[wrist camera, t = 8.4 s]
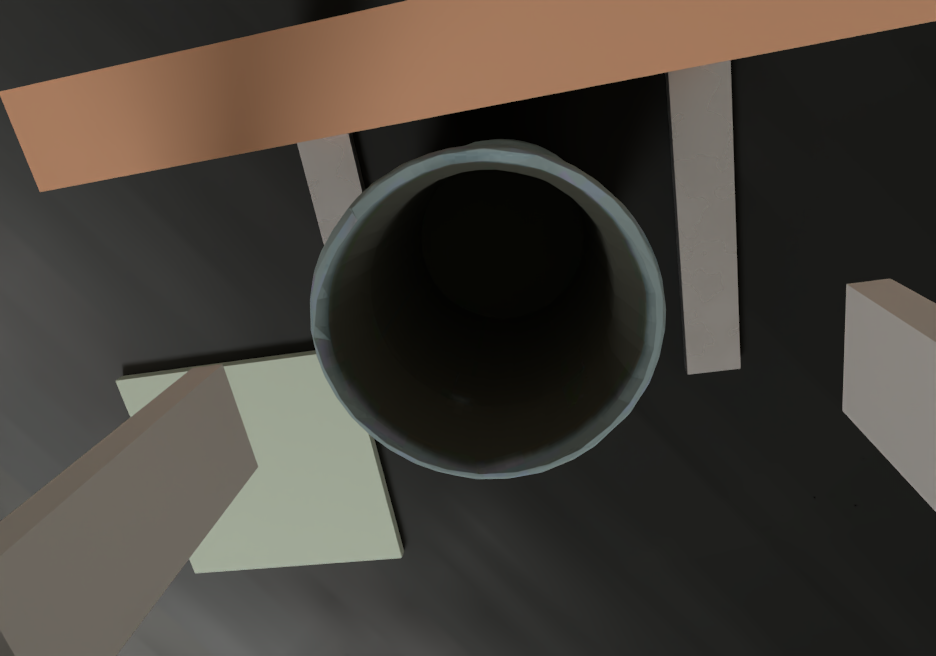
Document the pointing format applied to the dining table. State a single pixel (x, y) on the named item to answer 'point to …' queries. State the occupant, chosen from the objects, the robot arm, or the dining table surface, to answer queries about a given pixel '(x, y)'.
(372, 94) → the wooden arch
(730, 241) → the rails
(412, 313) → the grey open tube
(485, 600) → the dining table surface
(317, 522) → the coaster
